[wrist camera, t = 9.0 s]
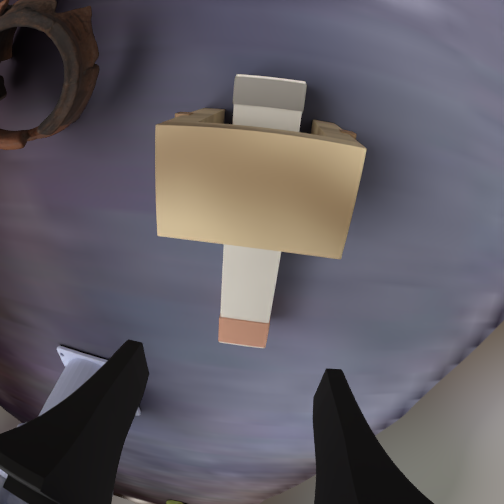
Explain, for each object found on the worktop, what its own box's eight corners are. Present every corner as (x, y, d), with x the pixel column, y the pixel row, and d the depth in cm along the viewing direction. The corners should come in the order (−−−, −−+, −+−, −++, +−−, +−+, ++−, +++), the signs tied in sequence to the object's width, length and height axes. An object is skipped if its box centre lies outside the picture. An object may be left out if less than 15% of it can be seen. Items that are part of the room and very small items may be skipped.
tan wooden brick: (327, 197, 16) (349, 261, 11) (193, 180, 17) (148, 235, 11) (341, 123, 14) (377, 149, 9) (197, 107, 15) (145, 123, 9)
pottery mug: (90, -41, 10) (53, -49, 5) (135, 68, 18) (129, 118, 13) (-47, 58, 10) (-110, 111, 5) (7, 144, 18) (-29, 216, 13)
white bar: (267, 318, 21) (264, 349, 19) (225, 313, 21) (218, 343, 19) (302, 82, 14) (307, 81, 11) (243, 76, 14) (235, 73, 11)
